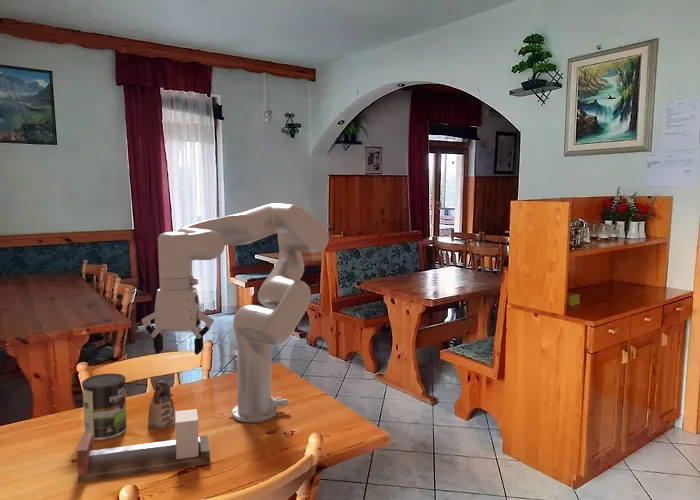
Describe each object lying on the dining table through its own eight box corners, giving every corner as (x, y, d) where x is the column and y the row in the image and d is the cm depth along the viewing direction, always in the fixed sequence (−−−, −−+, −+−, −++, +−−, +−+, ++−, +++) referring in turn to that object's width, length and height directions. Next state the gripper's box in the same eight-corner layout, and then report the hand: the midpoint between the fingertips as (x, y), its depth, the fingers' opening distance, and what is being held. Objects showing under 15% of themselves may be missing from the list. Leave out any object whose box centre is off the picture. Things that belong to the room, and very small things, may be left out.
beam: (199, 448, 129) (199, 436, 129) (200, 453, 127) (200, 441, 127) (91, 463, 122) (90, 450, 121) (89, 468, 120) (89, 455, 119)
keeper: (197, 443, 131) (196, 409, 130) (198, 456, 125) (198, 420, 124) (176, 446, 130) (175, 411, 128) (176, 459, 124) (175, 422, 122)
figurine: (181, 419, 148) (180, 378, 146) (165, 430, 141) (164, 387, 139) (159, 415, 150) (158, 374, 148) (142, 426, 143) (141, 383, 142)
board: (207, 445, 133) (207, 419, 132) (210, 463, 125) (209, 435, 124) (84, 462, 124) (83, 433, 124) (77, 482, 116) (76, 452, 115)
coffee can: (135, 424, 144) (133, 374, 142) (110, 442, 134) (108, 389, 132) (101, 420, 146) (99, 371, 144) (75, 438, 136) (72, 385, 134)
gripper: (216, 281, 130) (218, 348, 133) (147, 279, 131) (150, 346, 134) (207, 287, 123) (209, 358, 125) (133, 286, 124) (137, 356, 126)
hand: (178, 352), depth 129 cm, fingers open, 9 cm apart
